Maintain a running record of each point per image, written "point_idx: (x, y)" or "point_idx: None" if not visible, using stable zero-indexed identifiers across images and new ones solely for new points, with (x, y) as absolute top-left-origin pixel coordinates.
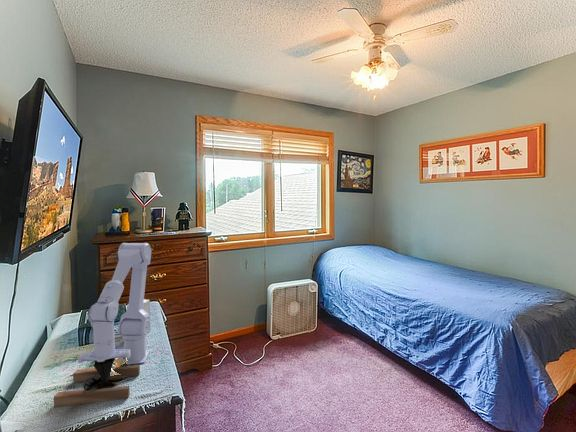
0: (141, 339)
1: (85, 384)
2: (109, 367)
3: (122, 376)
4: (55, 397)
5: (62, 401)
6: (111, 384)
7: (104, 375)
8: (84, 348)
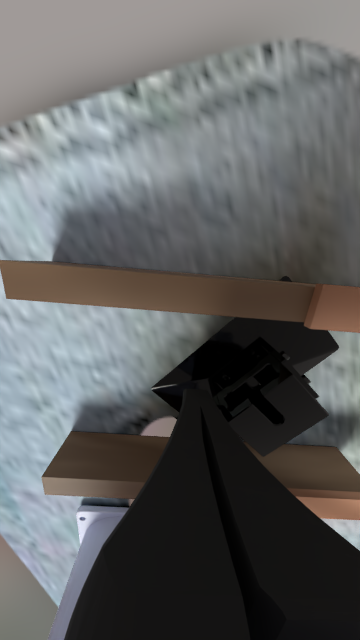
0: None
1: (307, 388)
2: (134, 505)
3: (139, 439)
4: None
5: None
6: (174, 397)
7: (199, 424)
8: None
